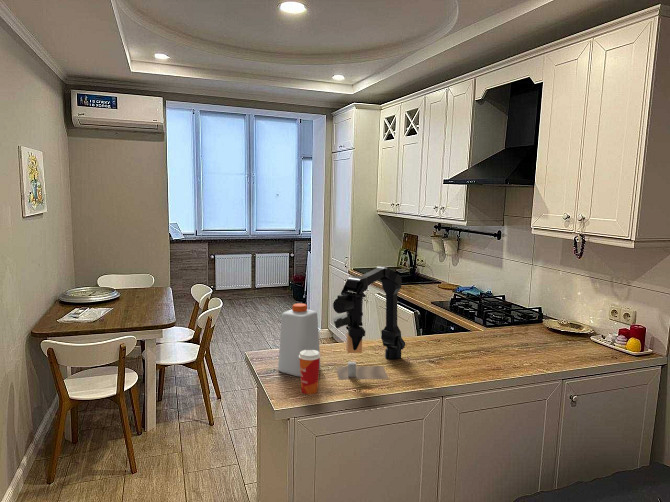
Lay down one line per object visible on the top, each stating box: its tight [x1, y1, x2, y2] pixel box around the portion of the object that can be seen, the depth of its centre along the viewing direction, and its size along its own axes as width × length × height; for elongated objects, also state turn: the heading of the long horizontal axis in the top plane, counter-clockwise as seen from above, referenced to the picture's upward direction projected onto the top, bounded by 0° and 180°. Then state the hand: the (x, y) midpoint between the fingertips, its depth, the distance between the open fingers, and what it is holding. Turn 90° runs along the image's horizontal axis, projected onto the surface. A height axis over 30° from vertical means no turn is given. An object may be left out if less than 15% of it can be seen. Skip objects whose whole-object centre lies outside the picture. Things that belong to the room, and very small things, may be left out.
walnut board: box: [335, 365, 389, 381], centre depth 191 cm, size 20×14×1 cm
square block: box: [345, 332, 363, 354], centre depth 185 cm, size 6×6×7 cm
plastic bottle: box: [277, 302, 321, 378], centre depth 194 cm, size 15×15×28 cm
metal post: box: [347, 361, 357, 378], centre depth 186 cm, size 3×3×6 cm
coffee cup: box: [299, 350, 321, 396], centre depth 174 cm, size 8×8×15 cm
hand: (354, 347), depth 185 cm, fingers closed on square block, 6 cm apart
